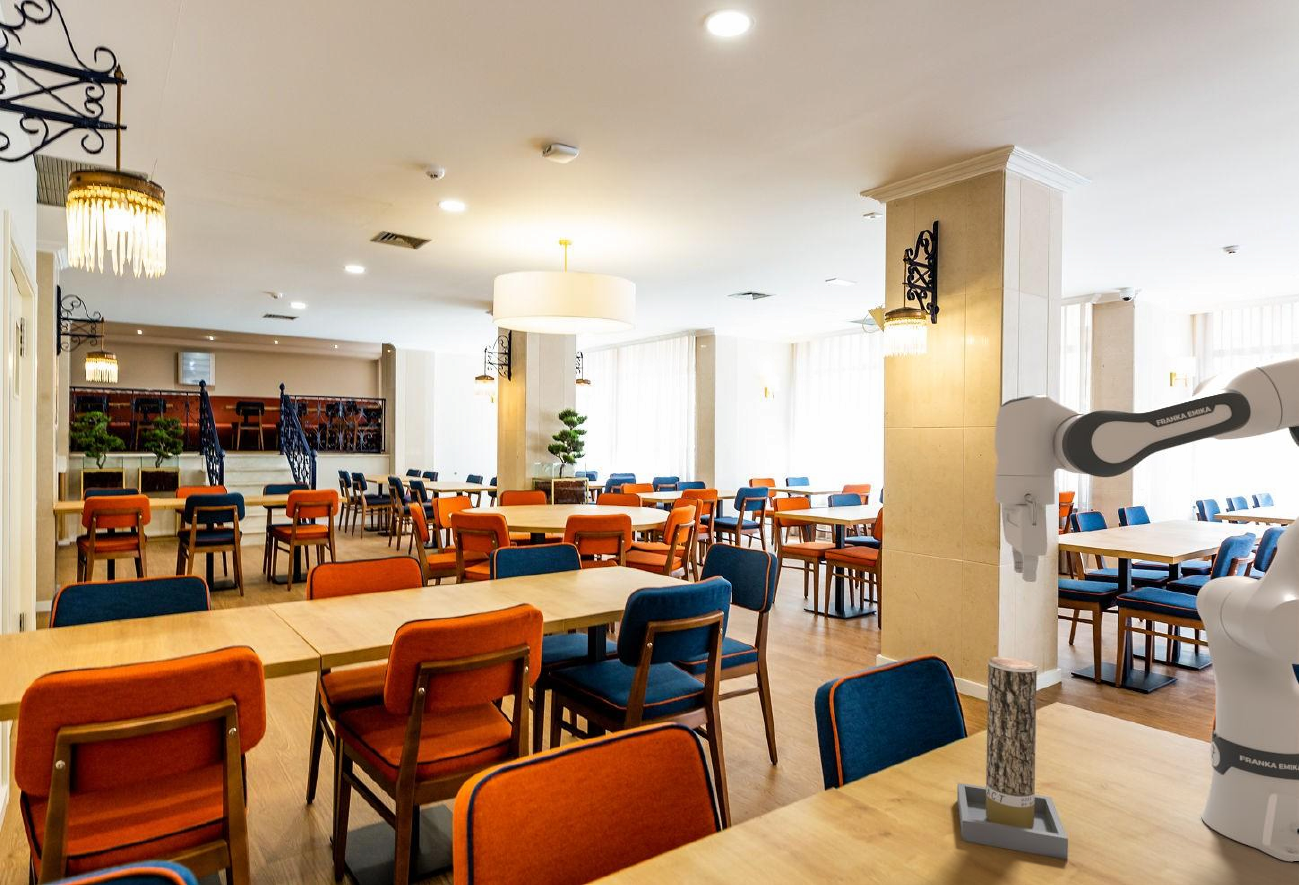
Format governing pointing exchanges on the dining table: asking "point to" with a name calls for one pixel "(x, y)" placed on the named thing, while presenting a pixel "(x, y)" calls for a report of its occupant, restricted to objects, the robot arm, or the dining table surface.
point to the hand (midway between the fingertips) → (1024, 576)
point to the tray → (1038, 840)
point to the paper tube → (1011, 742)
